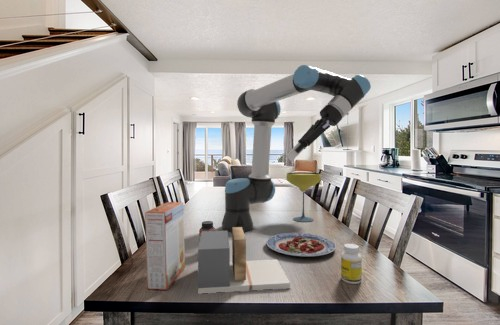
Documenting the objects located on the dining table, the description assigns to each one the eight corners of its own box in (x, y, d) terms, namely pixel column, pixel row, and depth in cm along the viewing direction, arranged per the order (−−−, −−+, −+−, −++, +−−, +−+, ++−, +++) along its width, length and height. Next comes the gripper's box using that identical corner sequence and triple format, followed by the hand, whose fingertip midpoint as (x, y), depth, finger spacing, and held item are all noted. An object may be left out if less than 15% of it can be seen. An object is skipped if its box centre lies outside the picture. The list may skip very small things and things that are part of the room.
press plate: (241, 262, 84) (241, 227, 84) (245, 280, 72) (245, 239, 72) (232, 262, 84) (232, 227, 84) (234, 280, 72) (234, 239, 72)
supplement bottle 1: (218, 251, 99) (218, 220, 99) (211, 257, 93) (211, 224, 93) (204, 249, 101) (204, 219, 101) (196, 255, 95) (196, 223, 95)
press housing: (277, 263, 88) (277, 228, 87) (290, 288, 72) (290, 245, 71) (201, 267, 85) (201, 231, 84) (198, 294, 69) (198, 249, 69)
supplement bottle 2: (337, 276, 79) (338, 242, 79) (355, 275, 80) (356, 242, 79) (346, 285, 74) (346, 249, 73) (365, 284, 74) (365, 248, 74)
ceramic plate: (292, 234, 121) (292, 227, 121) (348, 248, 103) (348, 240, 103) (252, 248, 103) (252, 240, 103) (310, 269, 85) (310, 259, 84)
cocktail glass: (320, 216, 153) (320, 172, 152) (321, 224, 135) (321, 175, 135) (287, 215, 157) (288, 172, 156) (284, 222, 139) (284, 174, 139)
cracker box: (166, 267, 85) (166, 201, 84) (185, 268, 84) (184, 201, 84) (145, 290, 71) (144, 211, 70) (167, 291, 70) (166, 211, 70)
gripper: (350, 116, 90) (301, 166, 89) (333, 121, 103) (291, 165, 102) (335, 100, 89) (286, 150, 88) (320, 106, 102) (277, 151, 101)
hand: (288, 158), depth 95 cm, fingers closed
